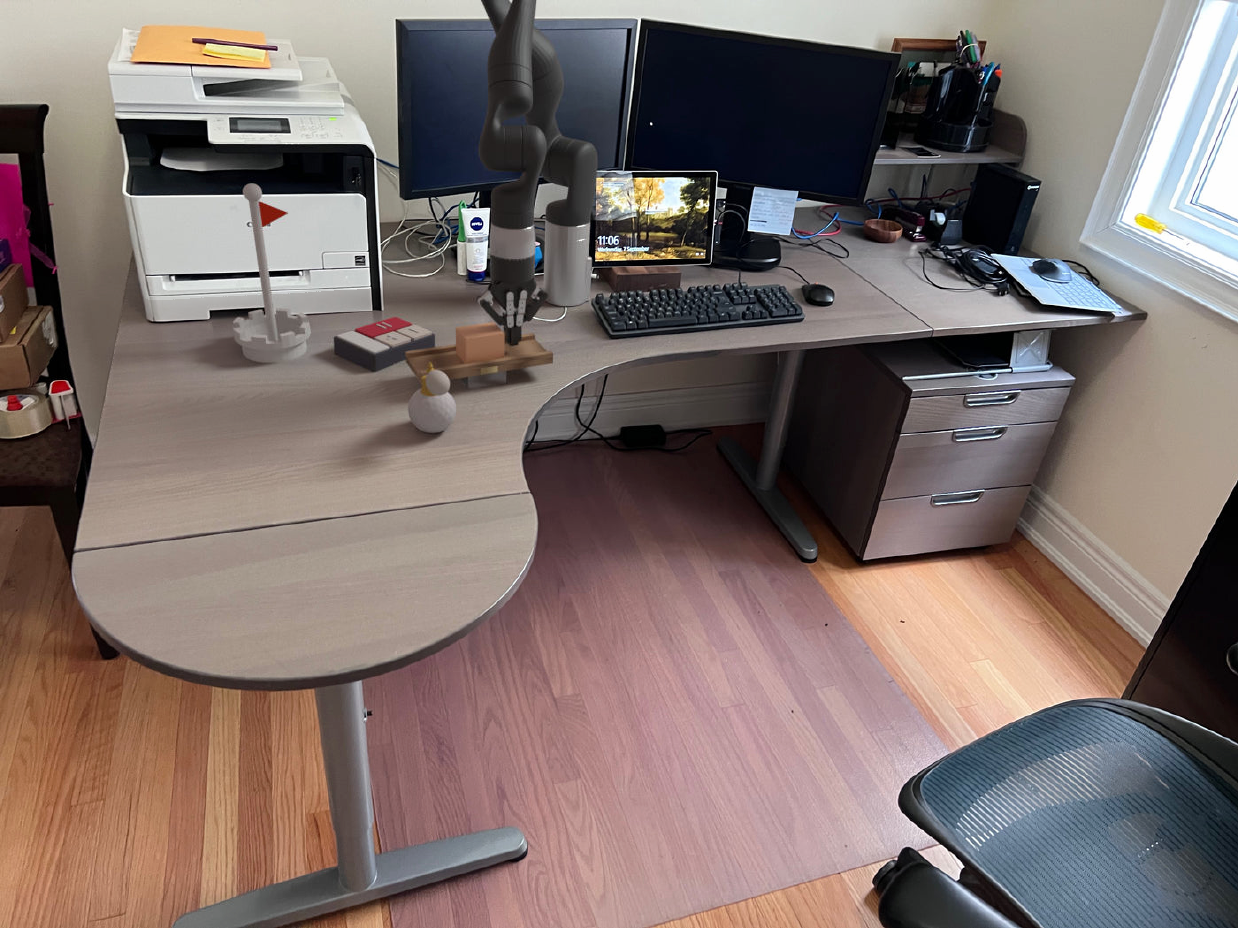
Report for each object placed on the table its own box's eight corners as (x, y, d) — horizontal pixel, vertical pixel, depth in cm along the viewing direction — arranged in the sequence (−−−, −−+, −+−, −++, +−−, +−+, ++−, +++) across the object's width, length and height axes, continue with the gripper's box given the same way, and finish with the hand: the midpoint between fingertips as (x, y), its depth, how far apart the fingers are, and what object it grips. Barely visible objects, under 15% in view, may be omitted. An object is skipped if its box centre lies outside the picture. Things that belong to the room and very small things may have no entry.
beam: (532, 357, 169) (533, 333, 167) (552, 378, 163) (553, 353, 160) (406, 377, 159) (405, 351, 156) (422, 400, 152) (421, 373, 150)
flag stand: (237, 368, 157) (208, 196, 141) (235, 338, 167) (207, 174, 152) (316, 361, 162) (296, 193, 146) (309, 332, 172) (289, 172, 156)
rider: (493, 348, 162) (493, 322, 159) (504, 359, 158) (504, 333, 156) (456, 353, 159) (455, 327, 156) (466, 365, 155) (465, 339, 153)
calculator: (436, 330, 169) (373, 351, 158) (436, 352, 171) (374, 374, 160) (395, 314, 174) (332, 333, 163) (396, 335, 176) (333, 355, 165)
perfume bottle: (436, 412, 149) (434, 346, 143) (475, 434, 144) (474, 367, 138) (399, 427, 144) (394, 359, 138) (438, 451, 139) (435, 381, 133)
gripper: (539, 238, 157) (538, 330, 166) (467, 246, 151) (469, 341, 160) (558, 252, 151) (555, 347, 160) (483, 261, 145) (484, 358, 155)
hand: (512, 344), depth 160 cm, fingers closed
